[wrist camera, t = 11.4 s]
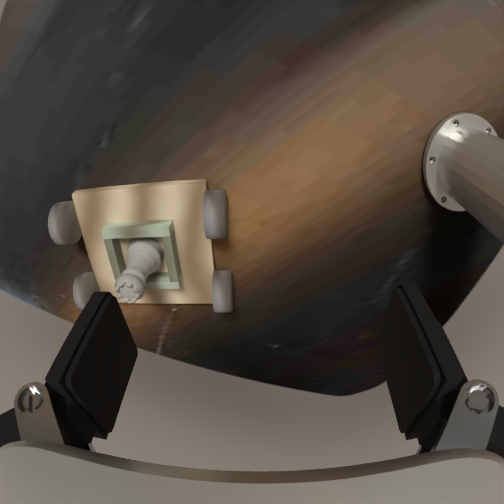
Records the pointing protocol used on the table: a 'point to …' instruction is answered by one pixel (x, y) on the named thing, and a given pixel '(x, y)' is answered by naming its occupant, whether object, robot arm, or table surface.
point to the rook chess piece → (138, 268)
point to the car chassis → (157, 228)
